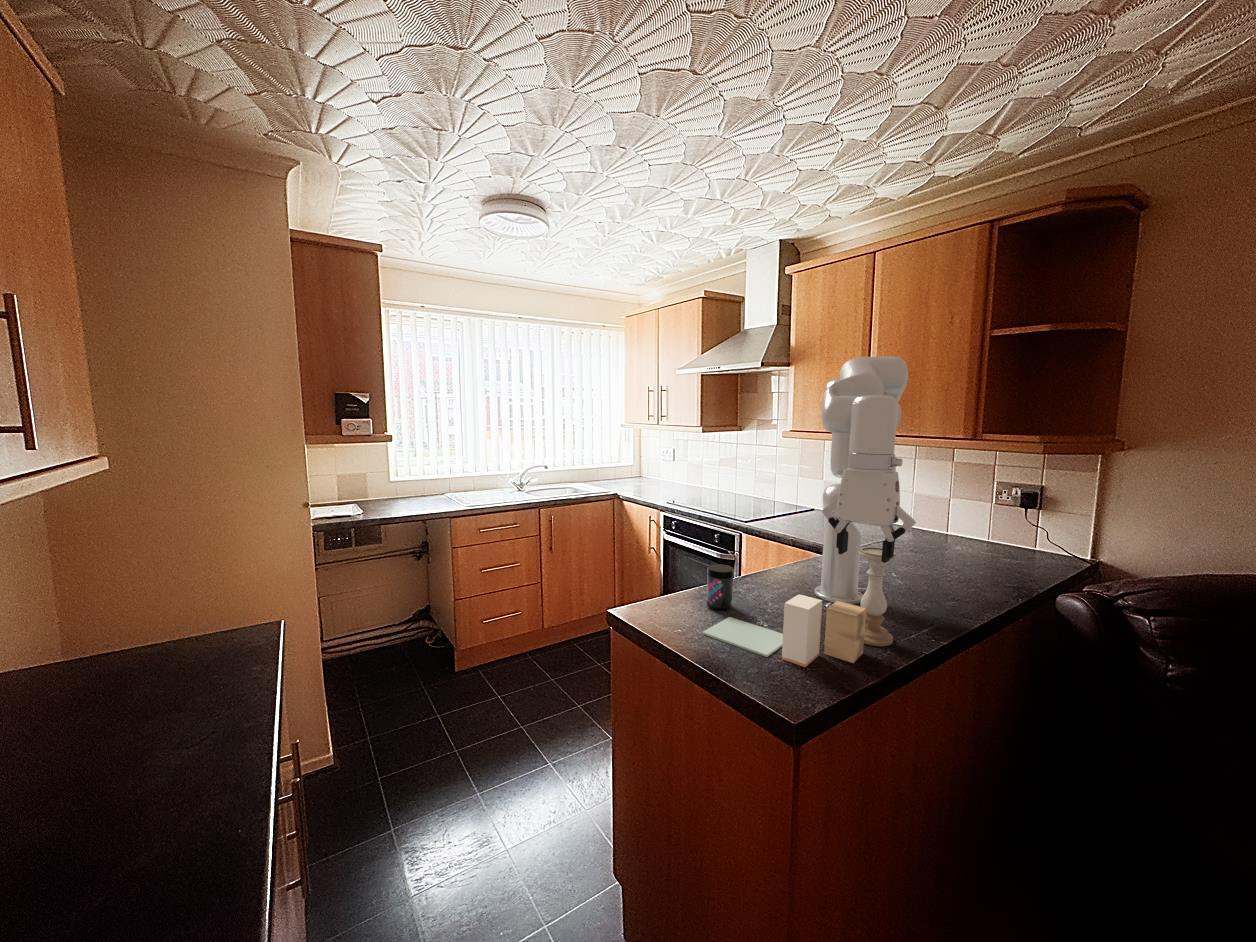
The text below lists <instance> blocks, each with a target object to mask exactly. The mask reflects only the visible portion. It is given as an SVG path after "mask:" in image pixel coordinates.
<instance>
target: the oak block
mask: <svg viewBox="0 0 1256 942" xmlns="http://www.w3.org/2000/svg"><path fill="white" fill-rule="evenodd" d="M825 615H826V616H825V617H826V618H825V632H824V647H823V654H824V655H826V656H829V657H833V658H836V659H839V660H842V661H845V662H849V663H851V664H854V663H855V662H856V661H857V660H858V659H859V658H860V657H861V656H862V655H863V654H864V645H865V644H864V632H865V618H866V608H864V607H861V605H860V606H859V605H857V604H848V603H844V602H840V601H836V602H835V603H834V602H832V604H831V605H829V606H828V607H826V614H825Z"/></svg>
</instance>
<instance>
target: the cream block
mask: <svg viewBox="0 0 1256 942" xmlns="http://www.w3.org/2000/svg"><path fill="white" fill-rule="evenodd" d="M783 605H784V606H783V610H784V611H783V625H782V626H783V629H782V634H783V642H782V646H781V648H782V649H781V660H783V661H786V662H789V663H792V664H795V665H797V666H800V667H803V668H806V667H808V666H809V664H811V663H812V662H813V661H814V660H816V658H818V657H819V656H820V646H821V643H820V642H821V641H820V640H821V626H822V609H823V599H819V598H815V597H812V596H811V597H810V596H807V595H804V594H797V595H795V596H794V597H792V598H790V599H789V600H787V601H785V602H784V604H783Z"/></svg>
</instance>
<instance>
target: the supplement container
mask: <svg viewBox="0 0 1256 942" xmlns="http://www.w3.org/2000/svg"><path fill="white" fill-rule="evenodd" d="M706 571H707V576H706V577H707V580H706V581H707V583H706V606H707V607H708V608H709V609H710V610H712V609H713V611H715V612H716V611H717V612H725V611H729V610H731V609H732V607H733V599H734V598H733V595H734V594H733V592H734V576H735V575H734V574H735V573H734V571H735V568H734V567H732V566H731V565H727V564H721V563H720V564H718V563H717V564H716V563H715V564H710V565H708V566H707V570H706Z"/></svg>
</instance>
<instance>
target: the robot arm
mask: <svg viewBox="0 0 1256 942" xmlns="http://www.w3.org/2000/svg"><path fill="white" fill-rule="evenodd" d="M908 380H909V370H908V366H907V363H906V362H905V360H903V358H901V357H898V356H860V357H854V358H851V359H848V360H847V361H846V362H844V364H843V365H842V366H841V368H840V371H839V378H835V379H832V380H829V381H828V382H827V383H826V384H825V388H824V393H823V396H822V399H821V408H820V409H821V411H820V412H821V422H822V426H823V428H824V429H825V430H826V431H827V432H829V433H831V447H830V471H831V474H832V475H833V476H834V477H835V478H839V479H840V483H834V484H830V485H828V486H827V487H826V488H825V489H824V491H823V493H822V507H823V509H822V511H821V512H822V514H823V518H824V519H823V521H824V522H823V523H824V524H823V525H824V526H823V546H822V560H821V561H822V562H821V563H822V564H821V577H820V585H818V586H816V587H815V588H814V594H815V595H816V596H817V597H818V599H819V598H820V600H824V601H826V602H831V603H835V602H836V601H840V602H844V603H848V604H852V605H857V604H860V602H861V599H862V596H863V595H864V593H862V592H860V591H859V578H860V564H861V555H860V554H859V549H860V548H862V535H861V532H860V530H859V529H858V528H857V527H856V525H855V523H856V524H863V525H868V526H875V527H880V529H881V530H882V533H883V535H884V537H885V538H884V540H883V541H882V547H881V548H882V560H881V561H882V562H884V563H886V562H887V563H888V562H889V561H891V560H890V558H893V556H894V552H895V541H896V539H898V538H900V537H901V536H903V535H905V533H907V532H908V531H909V530H910V529H912V527H914V526H915V525H916V524H917V522H916V520H915V519H914V518H913V517H911V515H910V514H908V513H907V512H906V510H904V509H903V508H902V507H901V493H900V491H901V490H900V478H899V472H898V471H896V470H897V469H896V468H897V467H902V466H903V458H898V457H896V454H895V447H896V446H895V444H896V432H897V430H896V429H897V427H899V426H900V424H901V419H902V407H901V405H900V404H899V402H900V399H901V397H902V395H903V393H904V391H905V389H906V388H907V384H908ZM899 520H901V521H902V523H903V524H902V525H900V527H898V528H897V529H895V527H894V524H896V523H898V521H899Z"/></svg>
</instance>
